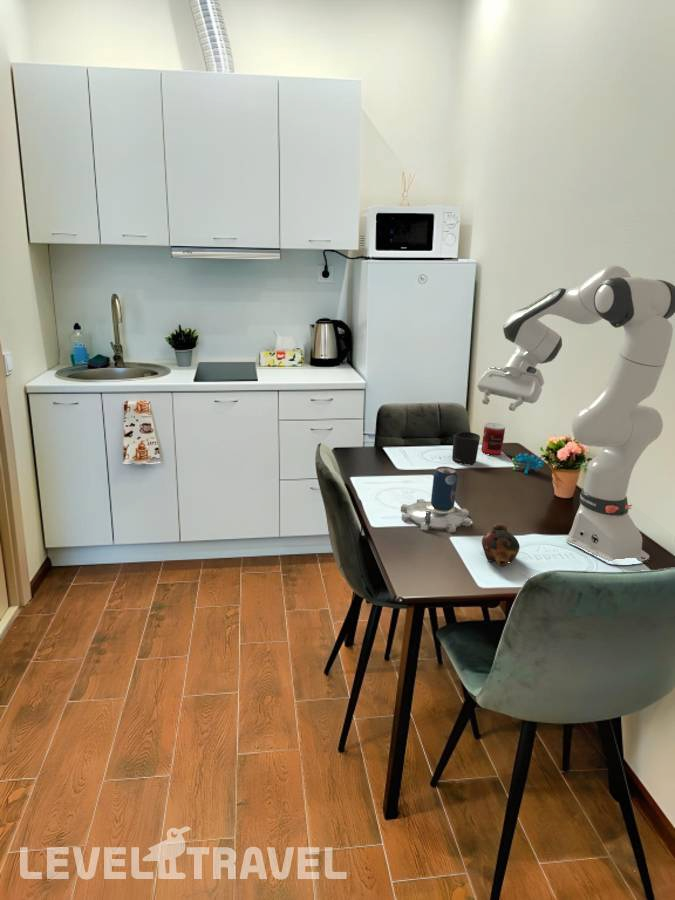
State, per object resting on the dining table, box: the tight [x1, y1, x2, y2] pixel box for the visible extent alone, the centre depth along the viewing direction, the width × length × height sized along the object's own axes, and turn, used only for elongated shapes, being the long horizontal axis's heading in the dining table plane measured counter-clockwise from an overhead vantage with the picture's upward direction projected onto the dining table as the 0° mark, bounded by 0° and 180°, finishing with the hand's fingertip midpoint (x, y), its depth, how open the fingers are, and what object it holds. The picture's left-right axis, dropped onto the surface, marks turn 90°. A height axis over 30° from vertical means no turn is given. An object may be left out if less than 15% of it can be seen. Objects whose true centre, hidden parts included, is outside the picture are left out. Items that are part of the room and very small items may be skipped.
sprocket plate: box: [400, 498, 472, 534], centre depth 200 cm, size 21×21×4 cm
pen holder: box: [451, 431, 481, 465], centre depth 251 cm, size 9×9×10 cm
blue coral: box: [511, 452, 544, 475], centre depth 244 cm, size 11×6×10 cm
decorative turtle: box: [481, 522, 521, 567], centre depth 176 cm, size 10×15×8 cm, turn 178°
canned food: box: [481, 422, 506, 456], centre depth 262 cm, size 8×8×11 cm
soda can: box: [430, 466, 458, 511], centre depth 202 cm, size 7×7×12 cm
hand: (497, 406), depth 212 cm, fingers open, 8 cm apart
